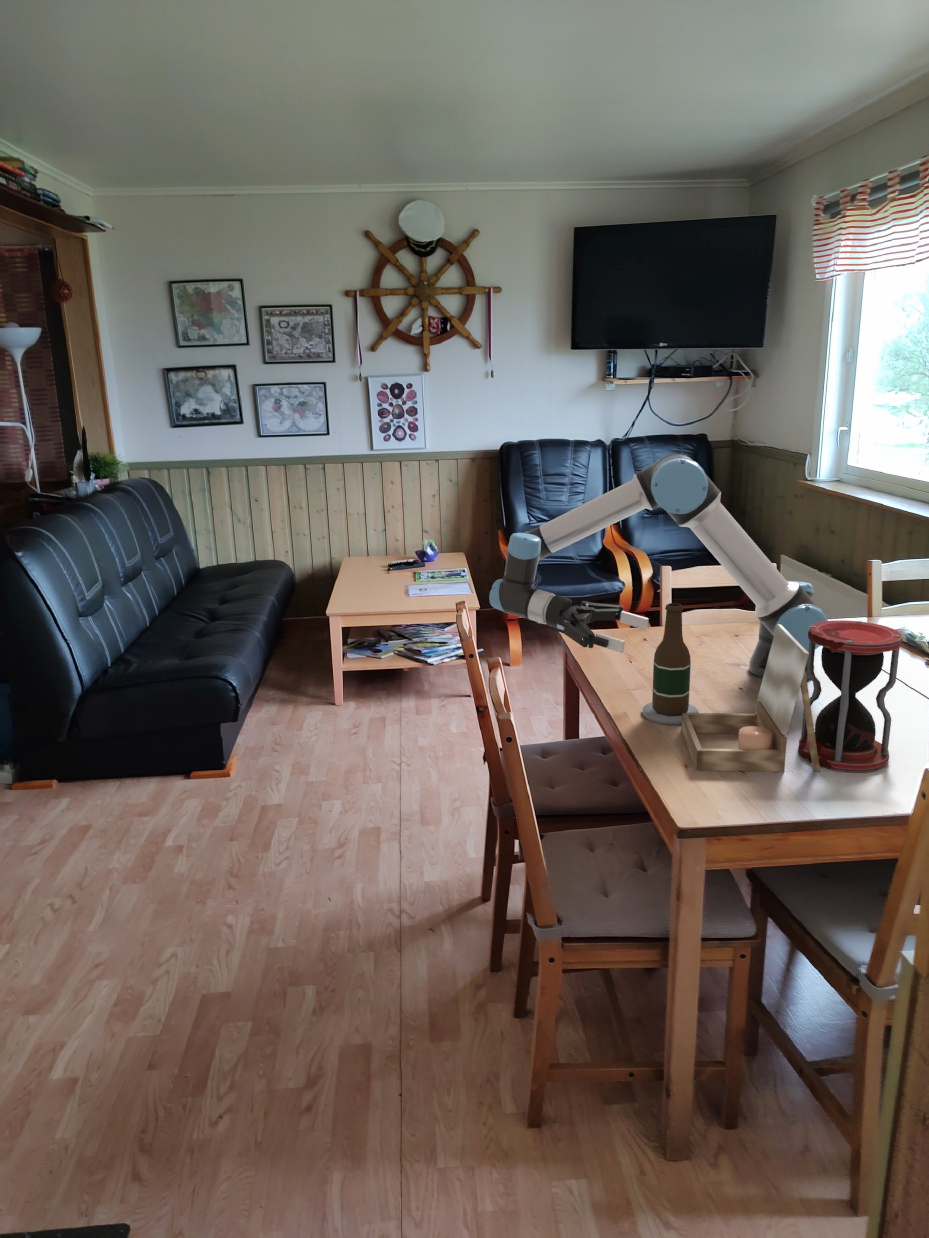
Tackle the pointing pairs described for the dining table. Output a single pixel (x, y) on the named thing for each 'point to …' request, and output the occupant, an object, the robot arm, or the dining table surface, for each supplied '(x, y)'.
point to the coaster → (662, 719)
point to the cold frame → (759, 715)
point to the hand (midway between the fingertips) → (635, 635)
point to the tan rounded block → (754, 738)
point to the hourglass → (850, 694)
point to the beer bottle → (671, 667)
